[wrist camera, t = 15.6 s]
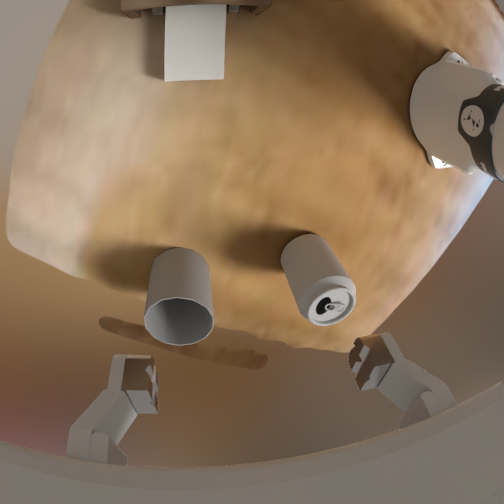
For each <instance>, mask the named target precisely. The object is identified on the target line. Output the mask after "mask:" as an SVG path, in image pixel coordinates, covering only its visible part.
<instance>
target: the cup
mask: <svg viewBox="0 0 504 504" xmlns="http://www.w3.org/2000/svg"><path fill="white" fill-rule="evenodd" d="M144 320H145V326H146V329H147V330H148V331H149V332H150V334H151V335H152V336H153V337H154V338H156V339H158V340H160V341H162V342H164V343H166V344H173V345H180V346H181V345H188V344H195V343H197V342H198V341H200V340H202V339H204V338H206V337H207V336H208V335H209V333H210V332H211V330H212V329H213V323H214V315H213V305H212V295H211V284H210V273H209V266H208V264H207V263H206V261H205V259H204V257H203V256H201V255H200V254H198V253H197V252H195V251H194V250H191V249H186V248H181V247H178V248H173V249H168V250H165V251H164V252H162V253H161V254H160V255H158V256H157V257H156V258H155V260H154V262H153V264H152V266H151V272H150V279H149V285H148V292H147V299H146V306H145V314H144Z"/></svg>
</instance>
